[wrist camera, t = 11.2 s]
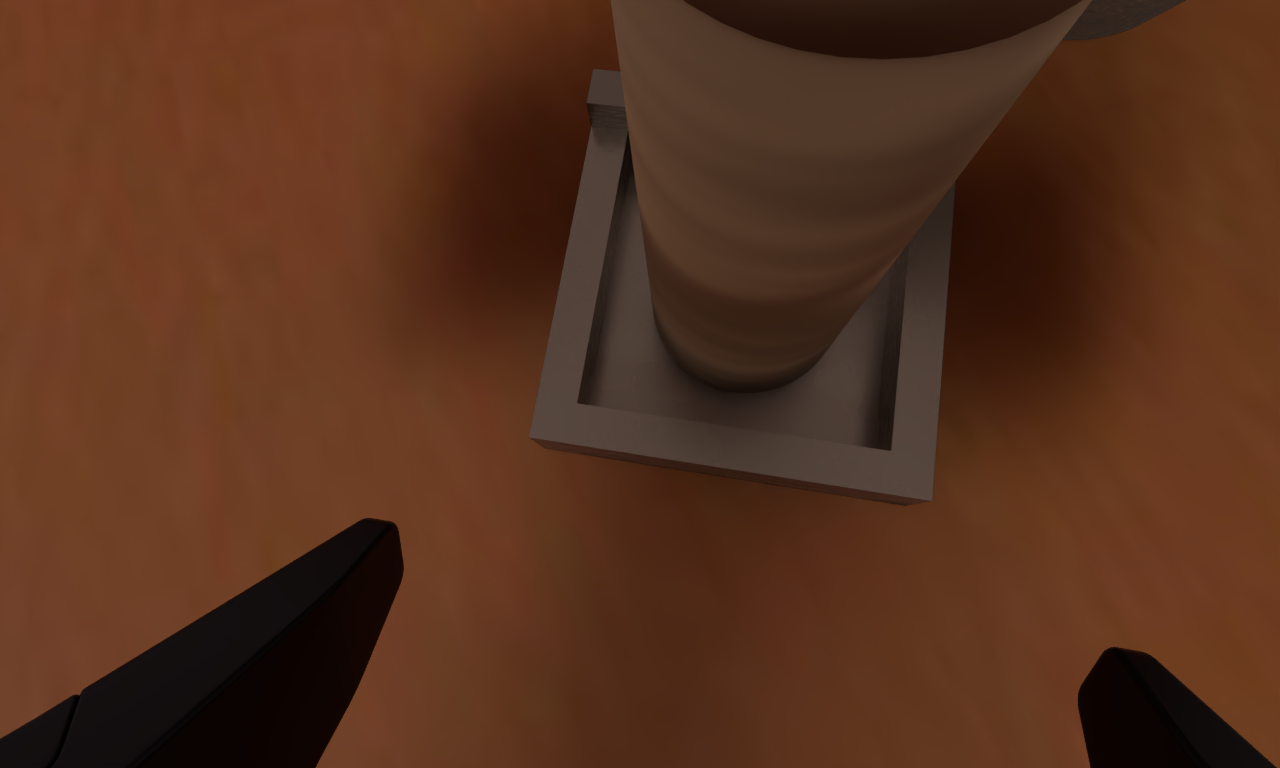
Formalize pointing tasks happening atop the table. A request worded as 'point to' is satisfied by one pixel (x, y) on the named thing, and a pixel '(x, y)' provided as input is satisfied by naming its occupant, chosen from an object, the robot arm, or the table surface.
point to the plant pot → (1115, 17)
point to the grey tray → (730, 421)
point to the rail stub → (803, 155)
